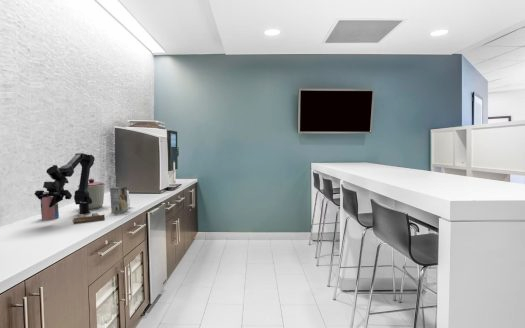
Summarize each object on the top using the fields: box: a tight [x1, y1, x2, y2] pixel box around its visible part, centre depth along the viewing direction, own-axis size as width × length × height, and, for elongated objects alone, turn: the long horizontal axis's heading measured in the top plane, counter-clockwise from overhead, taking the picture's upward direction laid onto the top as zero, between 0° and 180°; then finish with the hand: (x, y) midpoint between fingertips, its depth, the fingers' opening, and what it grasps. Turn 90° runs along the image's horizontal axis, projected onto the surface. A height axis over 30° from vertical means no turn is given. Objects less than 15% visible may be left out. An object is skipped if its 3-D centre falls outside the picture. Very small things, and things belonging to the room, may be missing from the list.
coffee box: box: [109, 186, 129, 214], centre depth 223 cm, size 9×6×16 cm
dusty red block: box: [41, 197, 56, 222], centre depth 187 cm, size 6×3×12 cm, turn 178°
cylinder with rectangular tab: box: [127, 190, 131, 209], centre depth 238 cm, size 9×9×12 cm
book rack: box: [72, 212, 106, 225], centre depth 199 cm, size 11×16×3 cm
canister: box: [77, 178, 106, 210], centre depth 241 cm, size 18×18×21 cm
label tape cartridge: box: [40, 200, 60, 220], centre depth 207 cm, size 9×4×12 cm, turn 115°
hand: (46, 207), depth 185 cm, fingers closed on dusty red block, 3 cm apart
